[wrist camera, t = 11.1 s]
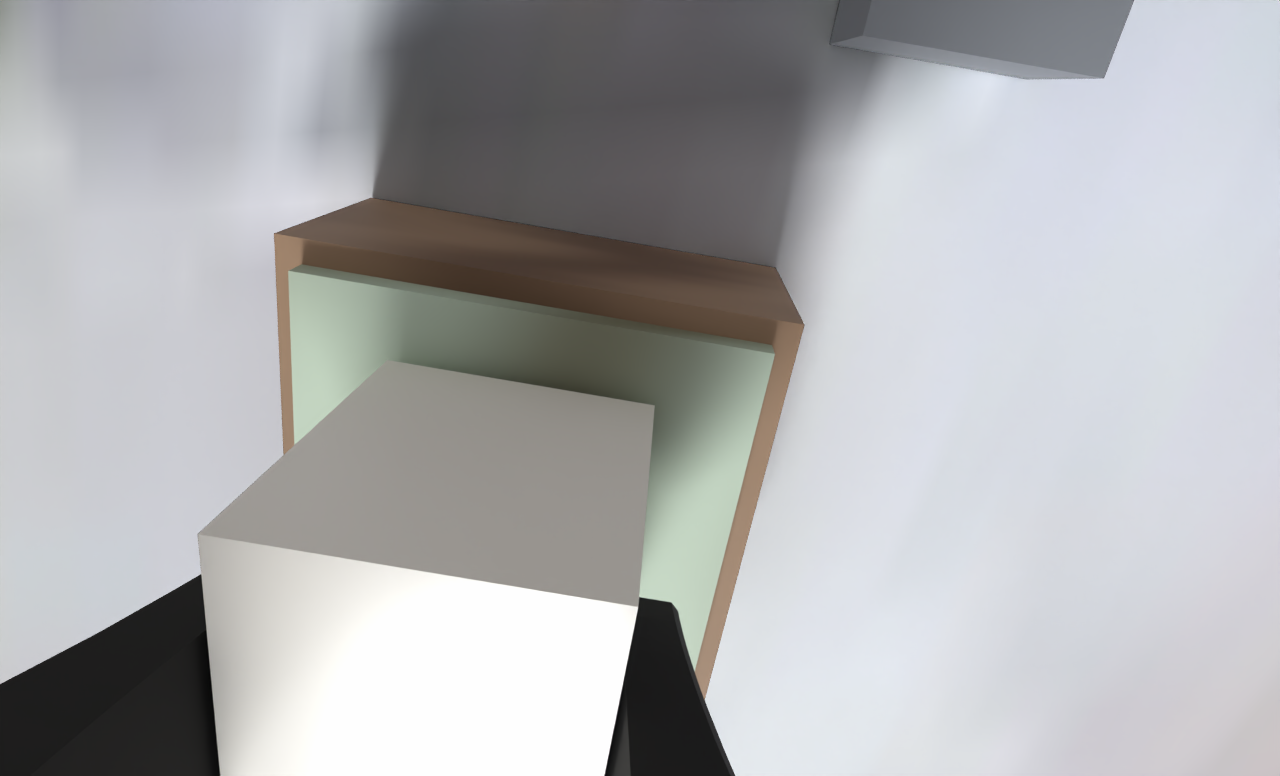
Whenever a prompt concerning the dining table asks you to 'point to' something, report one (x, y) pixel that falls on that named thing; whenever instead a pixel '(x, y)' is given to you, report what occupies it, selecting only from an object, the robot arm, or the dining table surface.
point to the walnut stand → (561, 357)
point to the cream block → (432, 584)
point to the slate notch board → (990, 34)
